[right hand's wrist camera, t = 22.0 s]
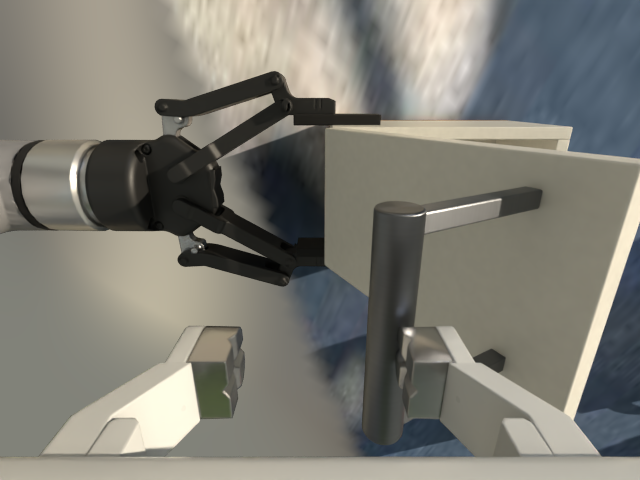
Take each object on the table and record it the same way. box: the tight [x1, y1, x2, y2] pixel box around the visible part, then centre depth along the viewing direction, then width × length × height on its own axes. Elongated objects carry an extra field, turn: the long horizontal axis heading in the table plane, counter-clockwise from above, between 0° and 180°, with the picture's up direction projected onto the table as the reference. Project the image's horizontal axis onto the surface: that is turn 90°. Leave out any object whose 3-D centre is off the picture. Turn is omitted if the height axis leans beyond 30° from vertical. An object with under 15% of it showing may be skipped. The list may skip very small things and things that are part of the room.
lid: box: [325, 128, 640, 445], centre depth 17 cm, size 17×10×8 cm
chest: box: [330, 120, 572, 151], centre depth 31 cm, size 17×10×10 cm, turn 90°
